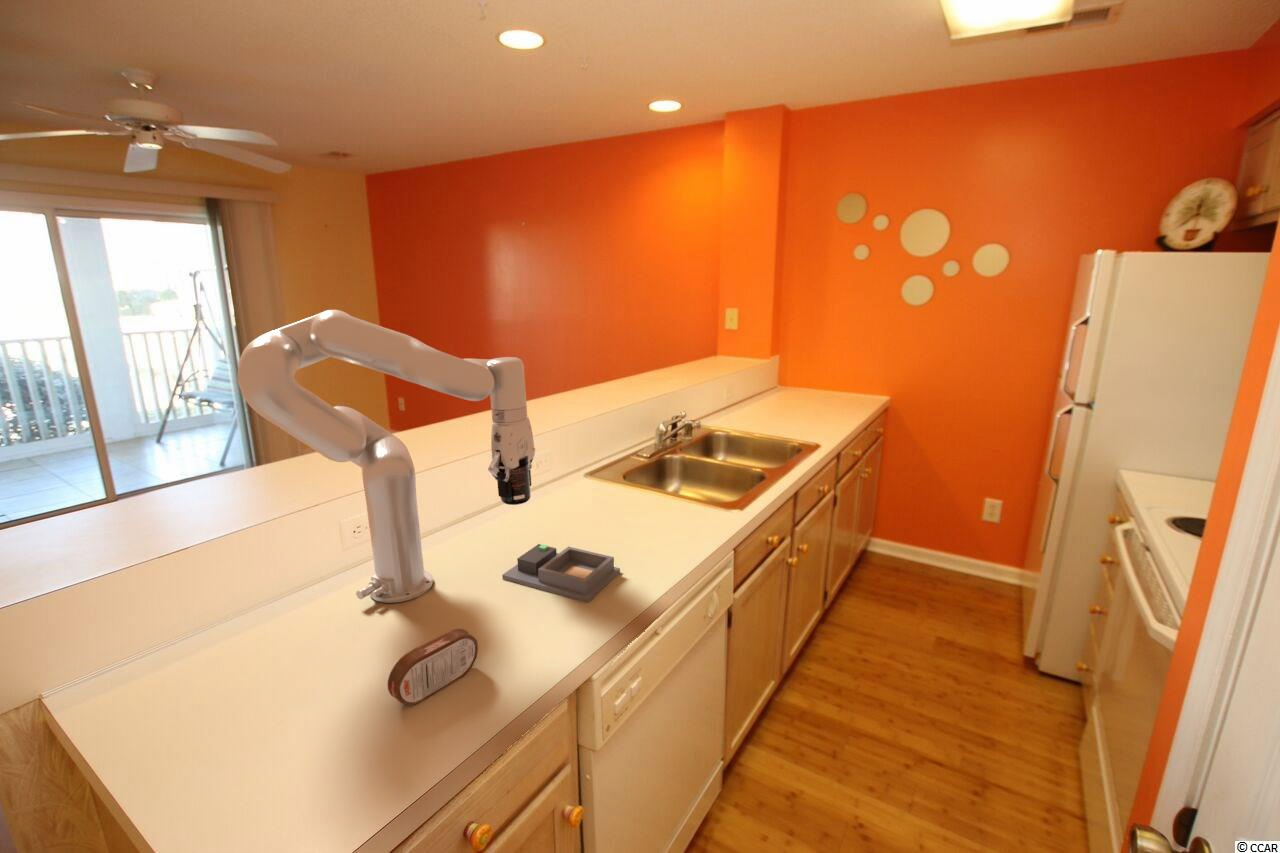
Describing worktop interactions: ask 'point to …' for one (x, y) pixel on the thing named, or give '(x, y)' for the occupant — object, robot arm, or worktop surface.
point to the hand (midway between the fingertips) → (515, 490)
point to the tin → (432, 666)
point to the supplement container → (519, 483)
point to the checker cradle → (564, 571)
